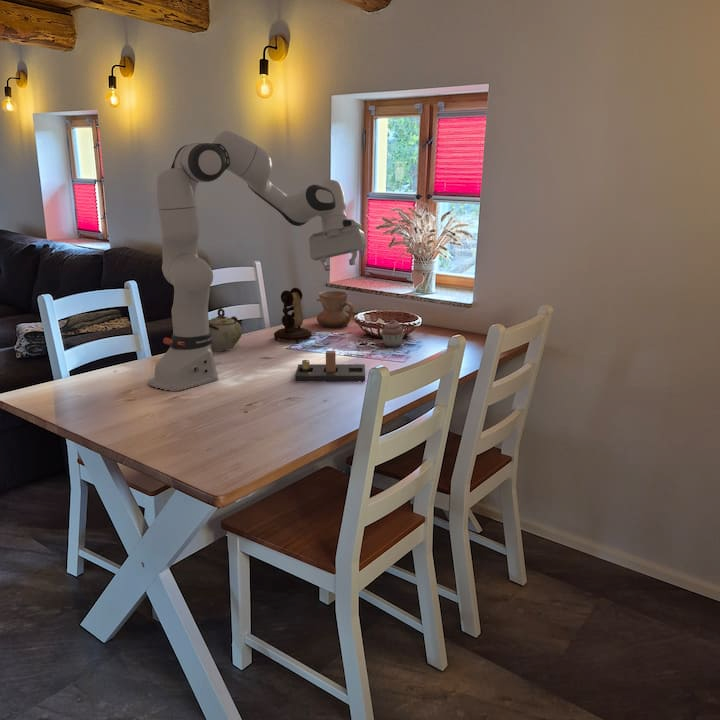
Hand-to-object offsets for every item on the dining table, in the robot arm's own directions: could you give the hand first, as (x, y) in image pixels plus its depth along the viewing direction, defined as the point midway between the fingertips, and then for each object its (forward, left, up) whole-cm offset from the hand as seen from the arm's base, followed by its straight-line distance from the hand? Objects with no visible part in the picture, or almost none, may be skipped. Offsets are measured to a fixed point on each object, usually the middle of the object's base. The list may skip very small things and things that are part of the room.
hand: (339, 267), depth 210 cm
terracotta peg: (-18, -8, -32) cm, 38 cm away
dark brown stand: (+14, +30, -32) cm, 46 cm away
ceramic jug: (+42, +28, -32) cm, 60 cm away
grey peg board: (-18, -8, -32) cm, 38 cm away
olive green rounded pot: (-10, +45, -32) cm, 57 cm away
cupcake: (+26, -8, -32) cm, 42 cm away
